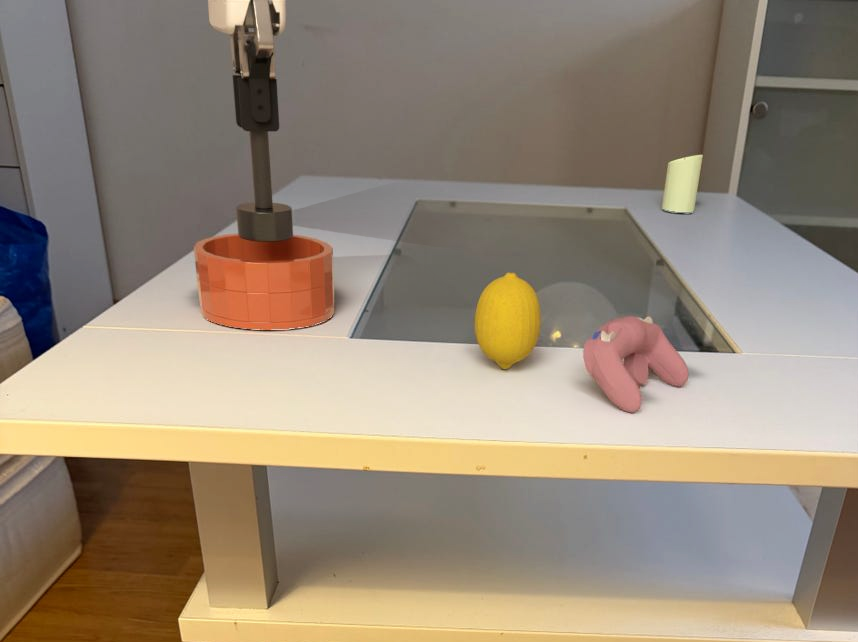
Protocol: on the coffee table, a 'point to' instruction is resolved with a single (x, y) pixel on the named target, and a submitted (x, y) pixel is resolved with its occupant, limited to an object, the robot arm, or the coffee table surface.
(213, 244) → the bowl
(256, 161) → the ring toss peg
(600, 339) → the video game controller
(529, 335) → the lemon
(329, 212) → the coffee table surface
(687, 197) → the candle
